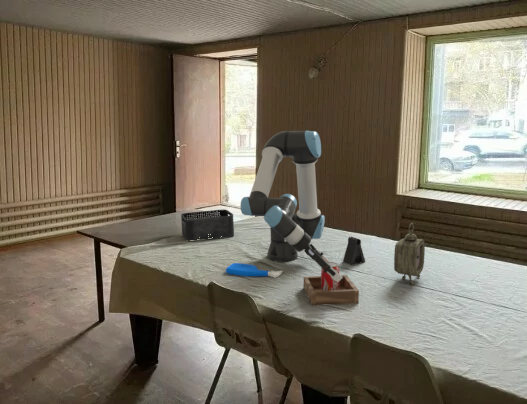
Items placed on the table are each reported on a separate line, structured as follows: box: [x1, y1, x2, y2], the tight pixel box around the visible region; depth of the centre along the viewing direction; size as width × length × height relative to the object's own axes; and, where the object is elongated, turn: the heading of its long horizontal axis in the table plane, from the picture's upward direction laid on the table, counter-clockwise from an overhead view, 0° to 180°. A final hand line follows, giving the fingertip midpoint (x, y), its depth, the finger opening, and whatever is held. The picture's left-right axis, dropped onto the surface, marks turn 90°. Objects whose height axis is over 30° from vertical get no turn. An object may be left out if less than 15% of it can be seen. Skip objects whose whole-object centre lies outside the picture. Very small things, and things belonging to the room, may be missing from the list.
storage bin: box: [180, 209, 235, 241], centre depth 290 cm, size 29×19×13 cm
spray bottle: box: [225, 262, 283, 279], centre depth 222 cm, size 3×11×24 cm
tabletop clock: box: [393, 222, 426, 286], centre depth 207 cm, size 14×9×25 cm, turn 148°
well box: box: [303, 274, 360, 306], centre depth 193 cm, size 18×18×5 cm
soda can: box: [320, 261, 340, 291], centre depth 192 cm, size 7×7×12 cm
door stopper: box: [342, 236, 366, 266], centre depth 234 cm, size 9×6×12 cm, turn 119°
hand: (335, 274), depth 192 cm, fingers open, 13 cm apart
